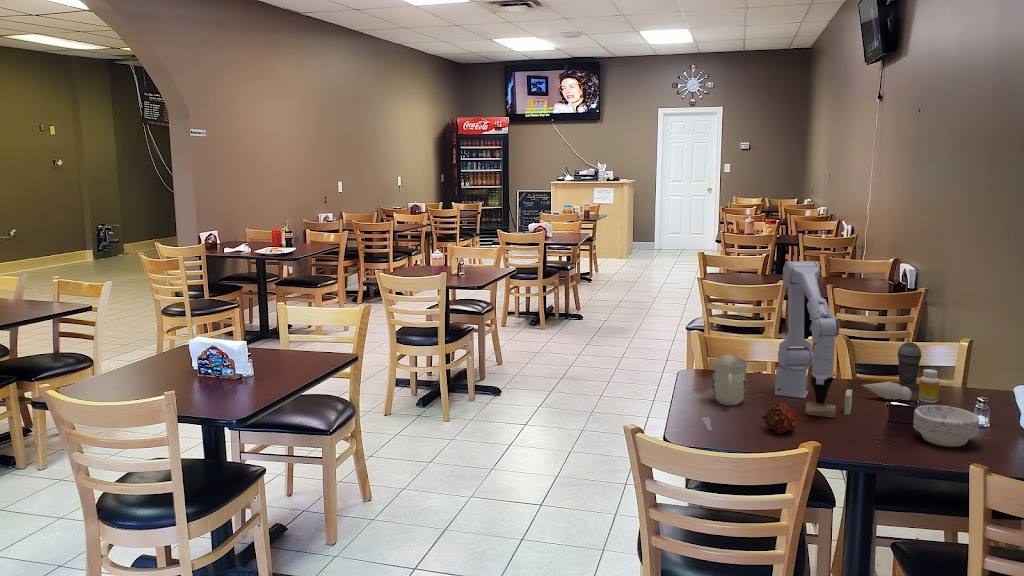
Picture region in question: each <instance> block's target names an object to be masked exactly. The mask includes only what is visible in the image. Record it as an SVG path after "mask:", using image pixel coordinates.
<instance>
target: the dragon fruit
mask: <svg viewBox="0 0 1024 576" xmlns="http://www.w3.org/2000/svg"><path fill="white" fill-rule="evenodd" d="M761 418H762V420H763V421H764V423H765V425H766V426H767V428H769V429H770V430H772V431H775V432H776V433H779V434H784V433H786V431H787V432H792V431H794V429H795V423H796V421H797V419H796V418H797V414H796V411H795V410H794V409H793V408H791V407H789V405H787V404H786V403H784V402H781V403H779V404H775V405H772V406H771V407H769V408H768V410H766V412H765V414H763V415H762V416H761Z"/></svg>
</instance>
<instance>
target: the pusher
mask: <svg viewBox="0 0 1024 576" xmlns="http://www.w3.org/2000/svg"><path fill="white" fill-rule="evenodd" d="M826 400H827V399H826ZM826 400H825V403H824V404H818V403H817V402H816V401H815V402H811V401H807V402H806V404H805V415H809V416H817V417H824V418H825V417H826V418H832V419H835V417H836V408H837V405H834V404H829V403H827V402H826Z"/></svg>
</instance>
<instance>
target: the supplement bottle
mask: <svg viewBox="0 0 1024 576" xmlns="http://www.w3.org/2000/svg"><path fill="white" fill-rule="evenodd" d="M938 372H939V371H937V370H935V369H932V368H931V369H930V368H929V369H928V368H927V369H926V368H925V369H923V370H922V374H923V375H922V376H921V377H920V378H919V391H918V392H919V393H918V399H919V401H921V402H924V403H929V404H930V403H931V404H933V403H938V401H939V392H940V378H939V377H938Z"/></svg>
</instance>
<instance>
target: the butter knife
mask: <svg viewBox="0 0 1024 576" xmlns="http://www.w3.org/2000/svg"><path fill="white" fill-rule="evenodd" d="M701 421H702V422H703V423H704V425H705V427H706V429H707V431H713V428H712V425H711V418H710V417H701Z"/></svg>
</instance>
